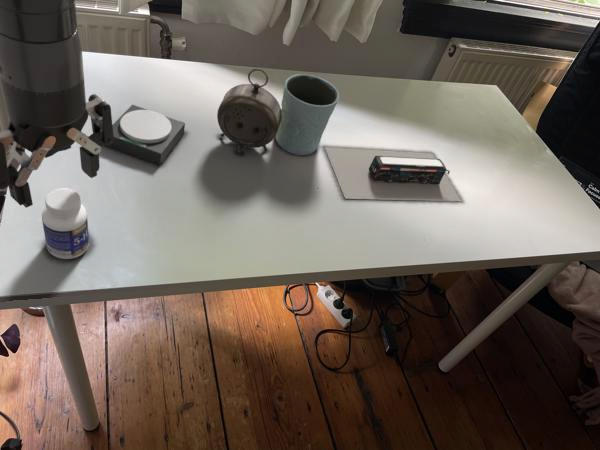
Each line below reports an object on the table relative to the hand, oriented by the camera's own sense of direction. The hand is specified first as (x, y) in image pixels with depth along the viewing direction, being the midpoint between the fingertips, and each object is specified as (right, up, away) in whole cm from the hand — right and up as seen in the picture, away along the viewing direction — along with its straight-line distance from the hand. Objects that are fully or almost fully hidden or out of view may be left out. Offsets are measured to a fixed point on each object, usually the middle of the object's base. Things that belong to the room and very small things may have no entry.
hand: (58, 187), depth 60 cm
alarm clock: (+19, +10, +31) cm, 38 cm away
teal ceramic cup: (+29, +12, +37) cm, 48 cm away
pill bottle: (-2, -7, +7) cm, 11 cm away
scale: (+2, +10, +26) cm, 28 cm away
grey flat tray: (+48, +5, +37) cm, 61 cm away
